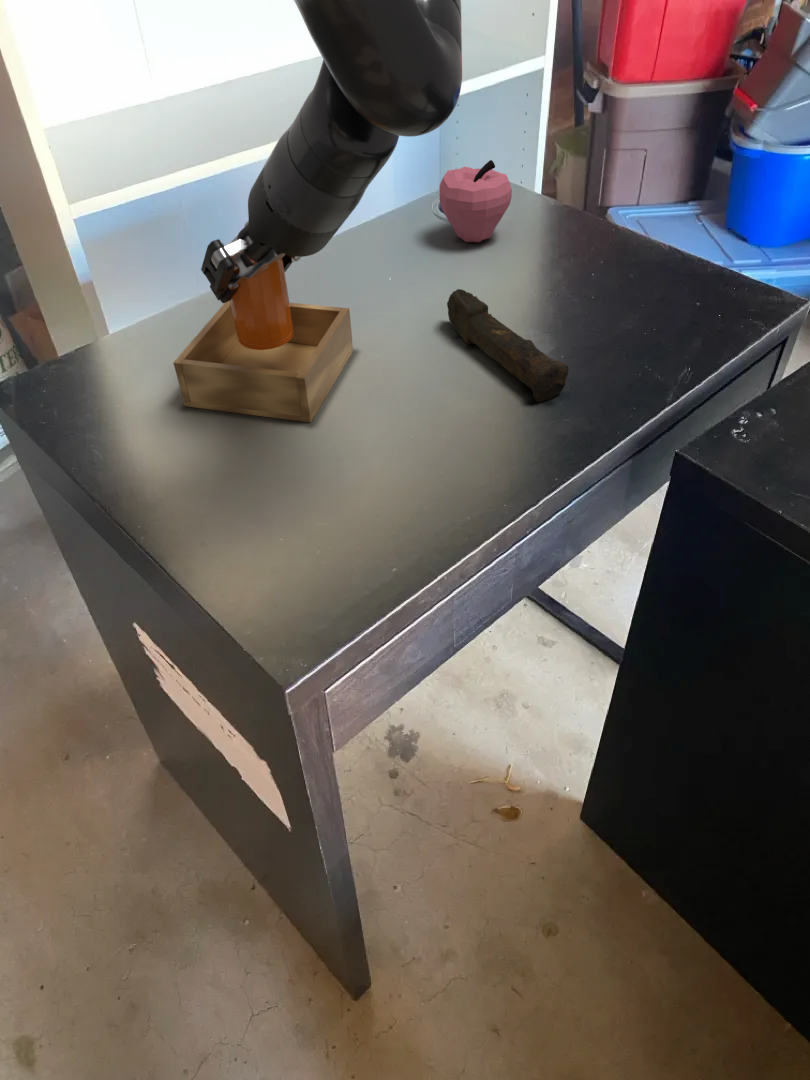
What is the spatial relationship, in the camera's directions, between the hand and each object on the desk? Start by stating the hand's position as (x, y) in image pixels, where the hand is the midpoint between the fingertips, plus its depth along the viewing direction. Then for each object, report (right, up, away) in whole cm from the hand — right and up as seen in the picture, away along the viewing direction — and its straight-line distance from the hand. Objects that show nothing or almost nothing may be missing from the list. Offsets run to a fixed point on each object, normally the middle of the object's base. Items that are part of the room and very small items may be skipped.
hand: (246, 281), depth 80 cm
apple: (+25, +15, +29) cm, 41 cm away
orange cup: (+1, -5, +3) cm, 6 cm away
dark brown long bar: (+25, -6, +7) cm, 27 cm away
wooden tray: (+2, -8, +6) cm, 10 cm away
